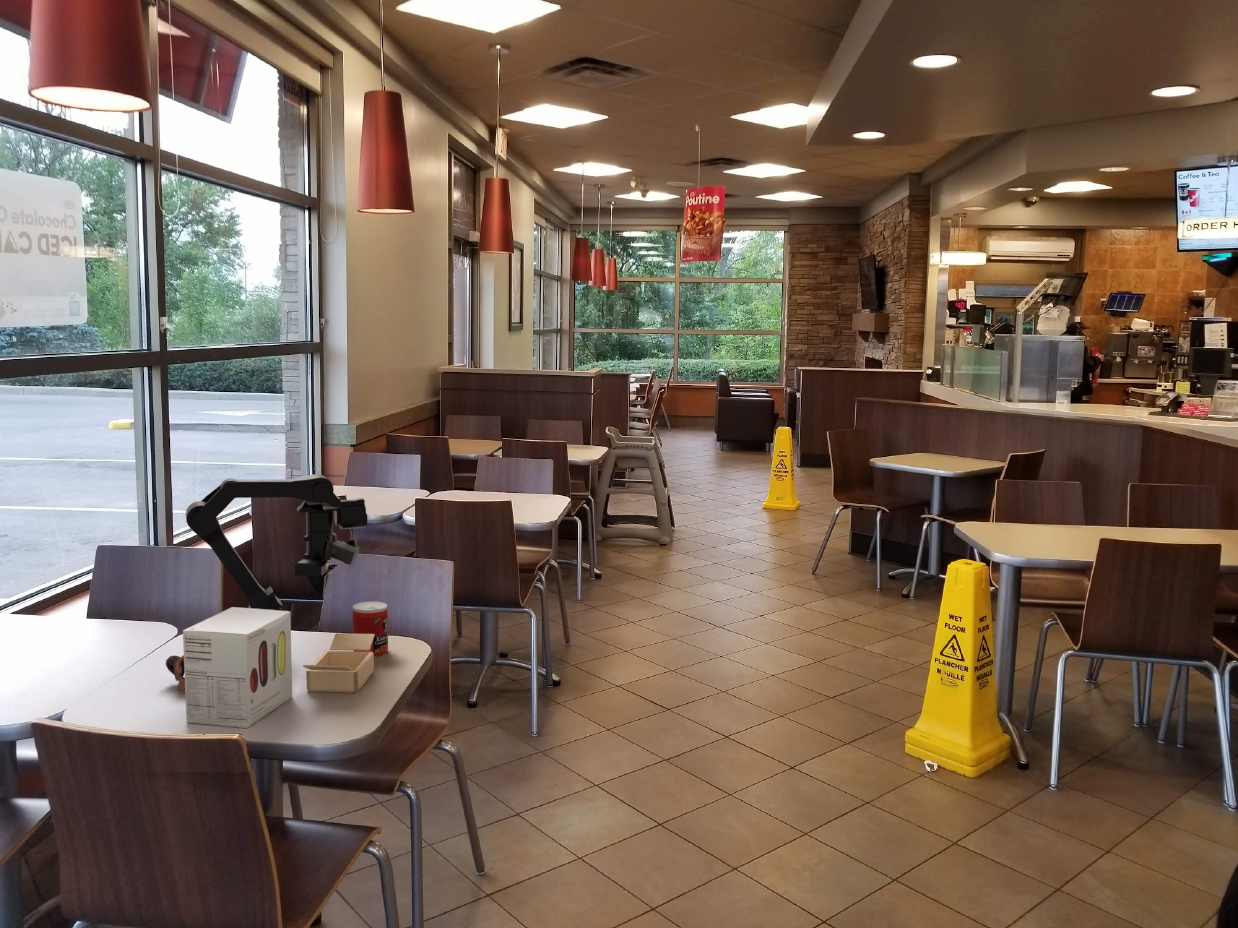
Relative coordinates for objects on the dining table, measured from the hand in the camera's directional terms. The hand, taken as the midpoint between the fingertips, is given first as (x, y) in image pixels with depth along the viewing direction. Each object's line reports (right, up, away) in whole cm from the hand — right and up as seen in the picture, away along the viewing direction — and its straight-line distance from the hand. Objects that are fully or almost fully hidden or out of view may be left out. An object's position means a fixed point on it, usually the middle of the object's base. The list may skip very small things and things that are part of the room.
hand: (321, 597), depth 225 cm
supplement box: (-5, -18, -33) cm, 38 cm away
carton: (+9, -15, -17) cm, 25 cm away
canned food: (+11, -13, +3) cm, 17 cm away
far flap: (+10, -8, -9) cm, 16 cm away
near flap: (+9, -10, -26) cm, 30 cm away
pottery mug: (-21, -16, -20) cm, 33 cm away
